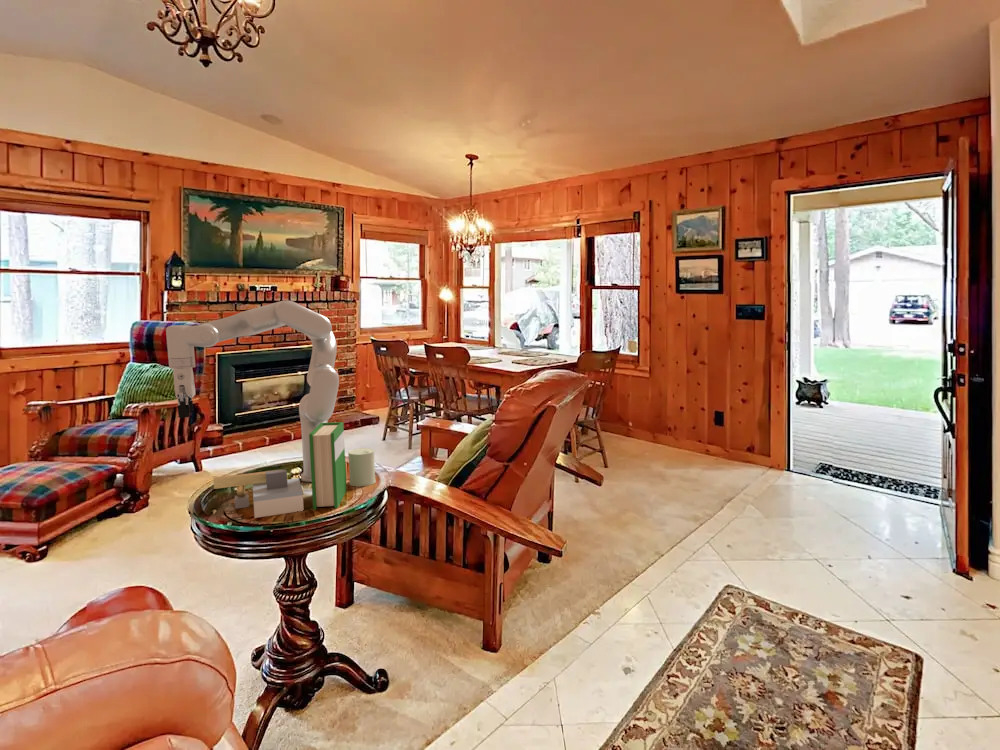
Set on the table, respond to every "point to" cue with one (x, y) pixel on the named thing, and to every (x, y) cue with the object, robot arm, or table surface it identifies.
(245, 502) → the box
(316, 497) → the hardback book
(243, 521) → the table surface
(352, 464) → the can
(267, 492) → the snap lid
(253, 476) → the tan wooden plank
